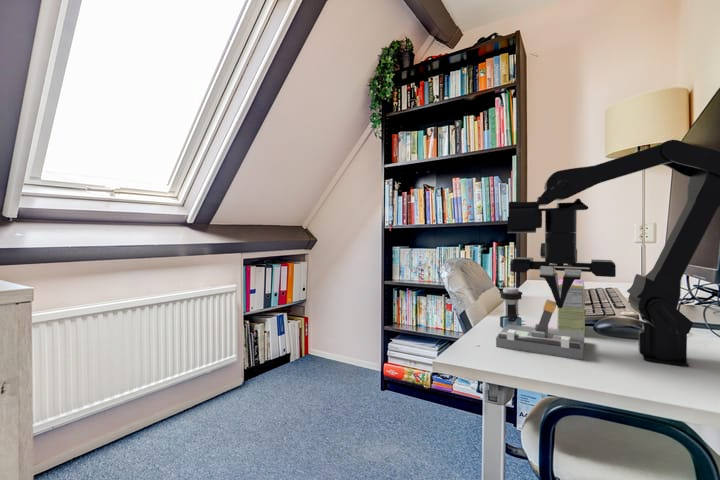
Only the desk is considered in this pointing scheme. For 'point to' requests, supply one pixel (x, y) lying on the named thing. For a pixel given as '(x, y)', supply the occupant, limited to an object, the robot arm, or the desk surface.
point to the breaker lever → (546, 315)
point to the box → (572, 309)
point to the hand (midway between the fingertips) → (560, 307)
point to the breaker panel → (542, 341)
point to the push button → (510, 307)
